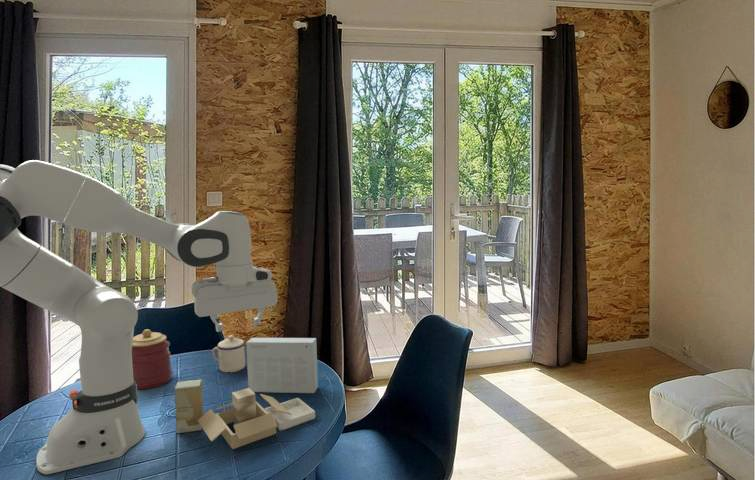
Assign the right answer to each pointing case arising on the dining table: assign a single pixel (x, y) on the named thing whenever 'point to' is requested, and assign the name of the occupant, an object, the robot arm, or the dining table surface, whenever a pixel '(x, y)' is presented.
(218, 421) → the carton
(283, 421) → the tray
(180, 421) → the skincare box
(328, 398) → the dining table surface
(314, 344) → the skincare box
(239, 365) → the teacup with lid
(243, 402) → the chunky box
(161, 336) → the canister
